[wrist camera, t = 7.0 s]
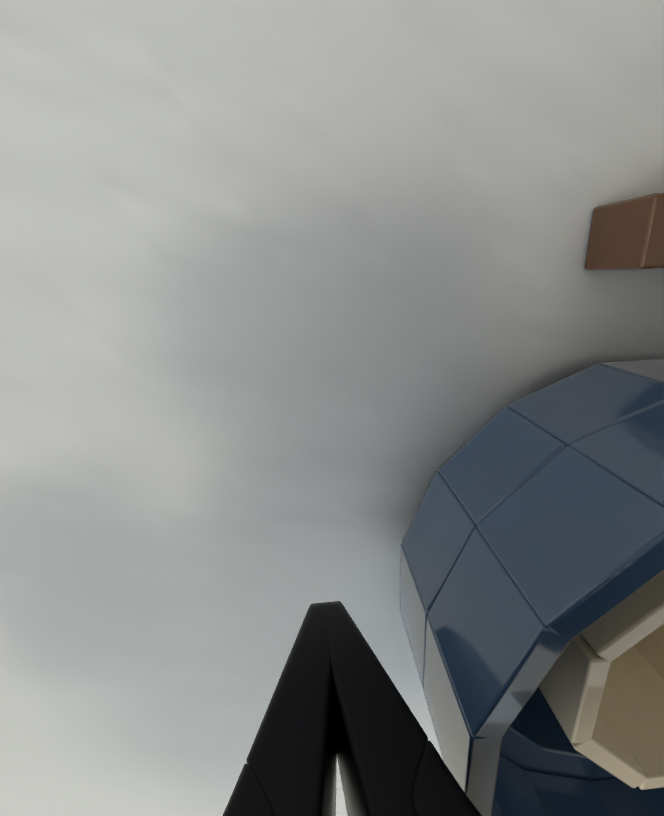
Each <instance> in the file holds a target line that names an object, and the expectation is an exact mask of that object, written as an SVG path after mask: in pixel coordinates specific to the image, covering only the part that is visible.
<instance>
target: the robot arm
mask: <svg viewBox="0 0 664 816" xmlns="http://www.w3.org/2000/svg"><path fill="white" fill-rule="evenodd" d="M337 758H338V764H339V769H340V775H341V781H342V786H343V792H344V797H345V803H346V809H347V814H348V816H482V815H481V814H480V812H479V811H478V810H477V808H476V807H475V806H474V804H473V803H472V802H471V800H470V799H469V798H468V796H467V795H466V794H465V792H464V791H463V789H462V788H461V786H460V785H459V783H458V782H457V781H456V779H455V778H454V776H453V775H452V773H451V772H450V770H449V769H448V767H447V766H446V764H445V763H444V761H443V760H442V758H441V757H440V755H439V754H438V752H437V750H436V749H435V747H434V746H433V744H432V743H431V741H428V737H427V735H426V734H425V732H424V731H423V729H422V727H421V726H420V724H419V723H418V721H417V720H416V718H415V717H414V715H413V713H412V712H411V710H410V709H409V707H408V706H407V704H406V702H405V701H404V699H403V698H402V696H401V695H400V693H399V692H398V690H397V688H396V687H395V685H394V684H393V682H392V681H391V679H390V677H389V676H388V674H387V673H386V671H385V670H384V668H383V667H382V665H381V663H380V662H379V660H378V659H377V657H376V656H375V654H374V653H373V651H372V649H371V648H370V646H369V645H368V643H367V642H366V640H365V638H364V637H363V635H362V634H361V632H360V631H359V629H358V628H357V626H356V624H355V623H354V621H353V620H352V618H351V617H350V615H349V614H348V612H347V610H346V609H345V607H344V606H343V604H342V603H341V602H339V601H335V602H326V603H315V604H311V605H310V607H309V609H308V611H307V613H306V616H305V618H304V621H303V623H302V626H301V628H300V631H299V633H298V635H297V638H296V640H295V643H294V645H293V648H292V650H291V653H290V655H289V657H288V660H287V662H286V665H285V667H284V670H283V672H282V674H281V677H280V679H279V682H278V684H277V687H276V689H275V692H274V694H273V696H272V699H271V701H270V704H269V706H268V709H267V711H266V714H265V716H264V718H263V721H262V723H261V726H260V728H259V731H258V733H257V736H256V738H255V740H254V743H253V745H252V748H251V750H250V753H249V755H248V757H247V764H245V765H244V767H243V769H242V772H241V774H240V776H239V779H238V781H237V784H236V786H235V789H234V791H233V793H232V795H231V798H230V800H229V802H228V805H227V807H226V809H225V811H224V814H223V816H335V815H336V764H337Z"/></svg>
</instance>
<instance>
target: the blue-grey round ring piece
mask: <svg viewBox="0 0 664 816" xmlns="http://www.w3.org/2000/svg"><path fill="white" fill-rule="evenodd" d="M662 571H664V359H654V360H637V361H621V362H605V363H598V364H596V365H593V366H590V367H588V368H586V369H584V370H581V371H579V372H577V373H575V374H573V375H570V376H568V377H566V378H564V379H561V380H559V381H557V382H555V383H553V384H550V385H548V386H546V387H544V388H541V389H539V390H537V391H535V392H533V393H530V394H528V395H526V396H524V397H521V398H519V399H517V400H515V401H513V402H510V403H508V404H507V407H504V408H502V409H501V410H500V411H499V412H498V413H497V414H496V415H495V416H494V417H493V418H492V419H491V420H490V421H489V422H488V423H487V424H485V425H484V426H483V427H482V428H481V429H480V430H479V431H478V432H477V433H476V434H475V435H474V436H473V437H472V438H471V439H470V440H468V441H467V442H466V443H465V444H464V445H463V446H462V447H461V448H460V449H459V450H458V451H457V452H456V453H455V454H454V455H453V456H451V457H450V458H449V459H448V460H447V461H446V462H445V463H444V464H443V465H442V466H441V467H440V468H439V471H436V472H435V474H434V476H433V478H432V480H431V483H430V485H429V487H428V489H427V491H426V493H425V495H424V497H423V499H422V501H421V503H420V505H419V507H418V509H417V511H416V513H415V515H414V517H413V519H412V522H411V524H410V526H409V528H408V530H407V532H406V534H405V536H404V538H403V540H402V543H401V558H400V611H401V615H402V618H403V622H404V625H405V629H406V632H407V636H408V639H409V643H410V646H411V650H412V653H413V656H414V660H415V663H416V667H417V670H418V674H419V677H420V681H421V684H422V688H423V690H424V694H425V698H426V702H427V705H428V709H429V712H430V716H431V719H432V723H433V726H434V730H435V733H436V737H437V740H438V743H439V747H440V750H441V754H442V757H443V761H444V763H445V764H446V766H447V767H448V769H449V770H450V772H451V773H452V775H453V776H454V778H455V779H456V781H457V782H458V783H459V785H460V786H461V788H462V789H463V791H464V792H465V794H466V795H467V796H468V798H469V799H470V800H471V802H472V803H473V804H474V806H475V807H476V808H477V810H478V811H479V812H480V814H481V815H482V816H664V787H662V788H653V789H645V790H641V789H640V788H639V787H638V786H637V787H636V788H631V787H630V786H629V785H627V784H626V783H624V782H623V781H621V780H620V779H618V778H617V777H615V776H614V775H612V774H611V773H609V772H608V771H606V770H605V769H603V768H602V767H600V766H599V765H597V764H596V763H594V762H593V761H591V760H590V759H588V758H587V757H585V756H584V755H582V754H581V753H580V752H578V751H577V750H575V749H574V748H573V746H572V744H571V743H570V741H569V739H568V737H567V736H566V734H565V732H564V730H563V729H562V727H561V725H560V723H559V722H558V720H557V718H556V716H555V715H554V713H553V711H552V709H551V708H550V706H549V704H548V702H547V701H546V699H545V697H544V695H543V694H542V692H541V690H540V688H539V685H540V684H541V682H542V681H543V680H544V678H545V677H546V675H547V674H548V673H549V671H550V670H551V668H552V667H553V665H554V664H555V663H556V661H557V660H558V658H559V657H560V655H561V654H562V653H563V651H564V650H565V648H566V647H567V646H568V644H569V643H570V641H571V640H572V639H574V638H575V637H576V636H578V635H579V634H580V633H581V632H583V631H584V630H585V629H587V628H588V627H589V626H591V625H592V624H593V623H595V622H596V621H597V620H599V619H600V618H601V617H603V616H604V615H605V614H607V613H608V612H609V611H611V610H612V609H613V608H615V607H616V606H617V605H619V604H620V603H621V602H623V601H624V600H625V599H627V598H628V597H629V596H631V595H632V594H633V593H635V592H636V591H637V590H638V589H640V588H641V587H642V586H644V585H645V584H646V583H648V582H649V581H650V580H652V579H653V578H654V577H656V576H657V575H658V574H660V573H661V572H662Z"/></svg>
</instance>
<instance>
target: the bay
mask: <svg viewBox="0 0 664 816" xmlns="http://www.w3.org/2000/svg"><path fill="white" fill-rule="evenodd" d="M653 268H664V193H655V194H651V195H646V196H642V197H638V198H633V199H629V200H625V201H620V202H616V203H612V204H608V205H603V206H599V207H596V208H595V209H594V211H593V218H592V224H591V231H590V237H589V244H588V250H587V257H586V263H585V269H587V270H619V269H653Z"/></svg>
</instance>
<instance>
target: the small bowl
mask: <svg viewBox="0 0 664 816" xmlns="http://www.w3.org/2000/svg"><path fill="white" fill-rule="evenodd" d="M539 688H540V690H541V692H542V694H543V695H544V697H545V699H546V701H547V702H548V704H549V706H550V708H551V709H552V711H553V713H554V715H555V716H556V718H557V720H558V722H559V723H560V725H561V727H562V729H563V730H564V732H565V734H566V736H567V737H568V739H569V741H570V743H571V744H572V746H573V748H574V749H575V750H577V751H578V752H580V753H581V754H582V755H584V756H585V757H587V758H588V759H590V760H591V761H593V762H594V763H596V764H597V765H599V766H600V767H602V768H603V769H605V770H606V771H608V772H609V773H611V774H612V775H614V776H615V777H617V778H618V779H620V780H621V781H623V782H624V783H626V784H627V785H629V786H630V787H631V788H636V787H637V786H638V787H639V788H640V789H641V790H645V789H653V788H662V787H664V571H662V572H661V573H660V574H658V575H657V576H656V577H654V578H653V579H652V580H650V581H649V582H648V583H646V584H645V585H644V586H642V587H641V588H640V589H638V590H637V591H636V592H635V593H633V594H632V595H631V596H629V597H628V598H627V599H625V600H624V601H623V602H621V603H620V604H619V605H617V606H616V607H615V608H613V609H612V610H611V611H609V612H608V613H607V614H605V615H604V616H603V617H601V618H600V619H599V620H597V621H596V622H595V623H593V624H592V625H591V626H589V627H588V628H587V629H585V630H584V631H583V632H581V633H580V634H579V635H578V636H576V637H575V638H574V639H572V640H571V641H570V643H569V644H568V646H567V647H566V648H565V650H564V651H563V653H562V654H561V655H560V657H559V658H558V660H557V661H556V663H555V664H554V665H553V667H552V668H551V670H550V671H549V673H548V674H547V675H546V677H545V678H544V680H543V681H542V682H541V684H540V685H539Z"/></svg>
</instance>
